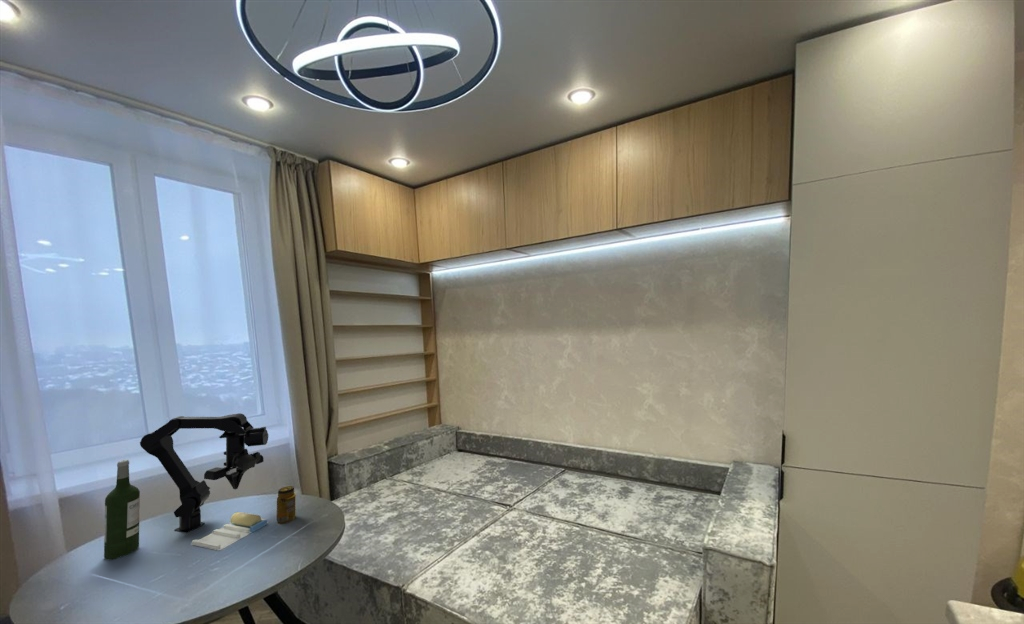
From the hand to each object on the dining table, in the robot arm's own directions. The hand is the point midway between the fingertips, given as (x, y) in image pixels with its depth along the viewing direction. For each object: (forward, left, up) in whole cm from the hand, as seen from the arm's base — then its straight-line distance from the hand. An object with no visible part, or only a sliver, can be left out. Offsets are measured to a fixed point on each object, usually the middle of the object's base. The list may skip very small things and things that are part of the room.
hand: (235, 489), depth 139 cm
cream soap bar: (+8, -2, -12) cm, 14 cm away
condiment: (+20, +4, -12) cm, 24 cm away
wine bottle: (-17, -25, -12) cm, 32 cm away
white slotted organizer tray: (+8, -7, -12) cm, 16 cm away
